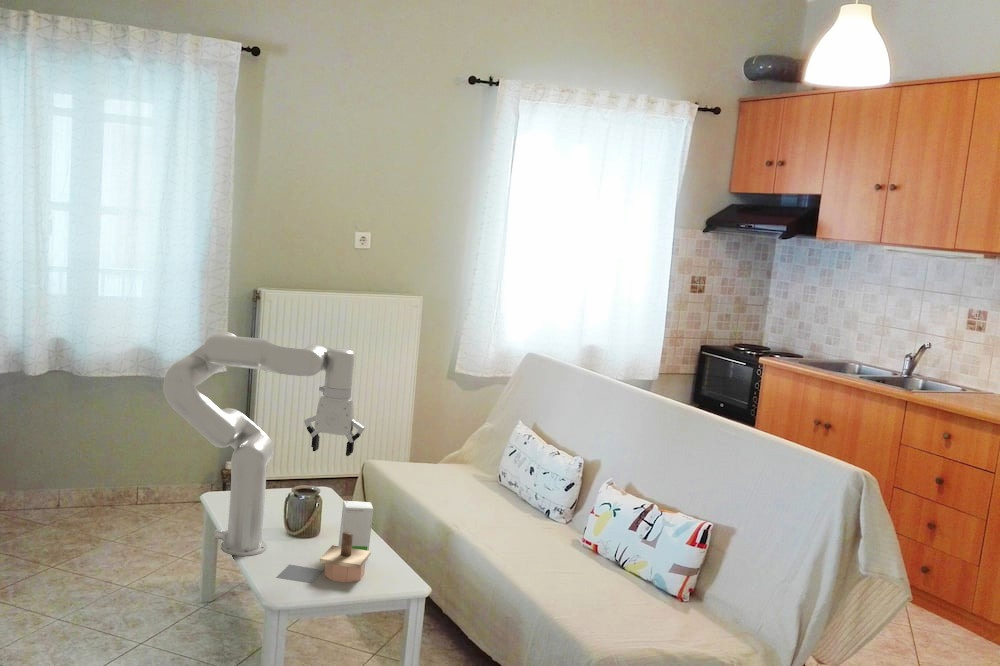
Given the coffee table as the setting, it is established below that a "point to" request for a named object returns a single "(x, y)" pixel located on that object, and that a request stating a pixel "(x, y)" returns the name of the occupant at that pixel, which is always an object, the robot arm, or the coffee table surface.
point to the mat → (300, 573)
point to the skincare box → (357, 523)
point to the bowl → (344, 572)
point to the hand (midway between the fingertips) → (331, 452)
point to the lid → (345, 553)
